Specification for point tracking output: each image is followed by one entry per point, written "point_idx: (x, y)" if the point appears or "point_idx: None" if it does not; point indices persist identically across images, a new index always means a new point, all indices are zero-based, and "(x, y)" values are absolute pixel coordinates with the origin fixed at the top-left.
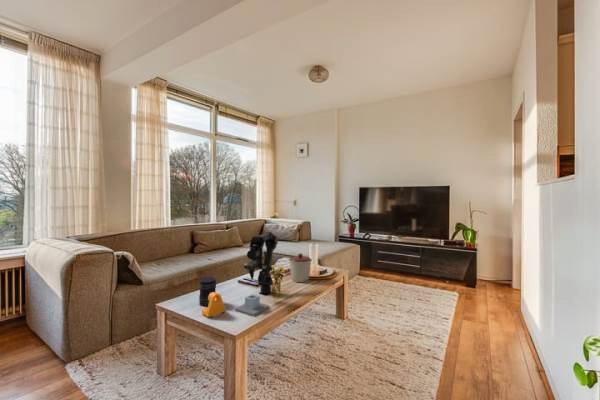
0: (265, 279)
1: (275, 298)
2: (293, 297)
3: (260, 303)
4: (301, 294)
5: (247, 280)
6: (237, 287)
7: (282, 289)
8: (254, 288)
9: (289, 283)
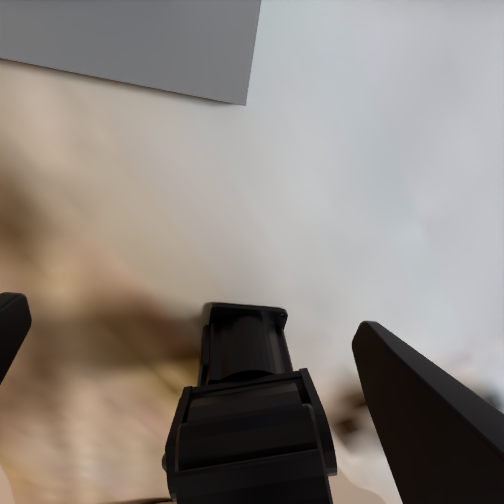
0: (209, 434)
1: (109, 287)
2: None
3: (92, 65)
4: (2, 405)
5: None
6: (484, 336)
7: None
8: None
9: None
